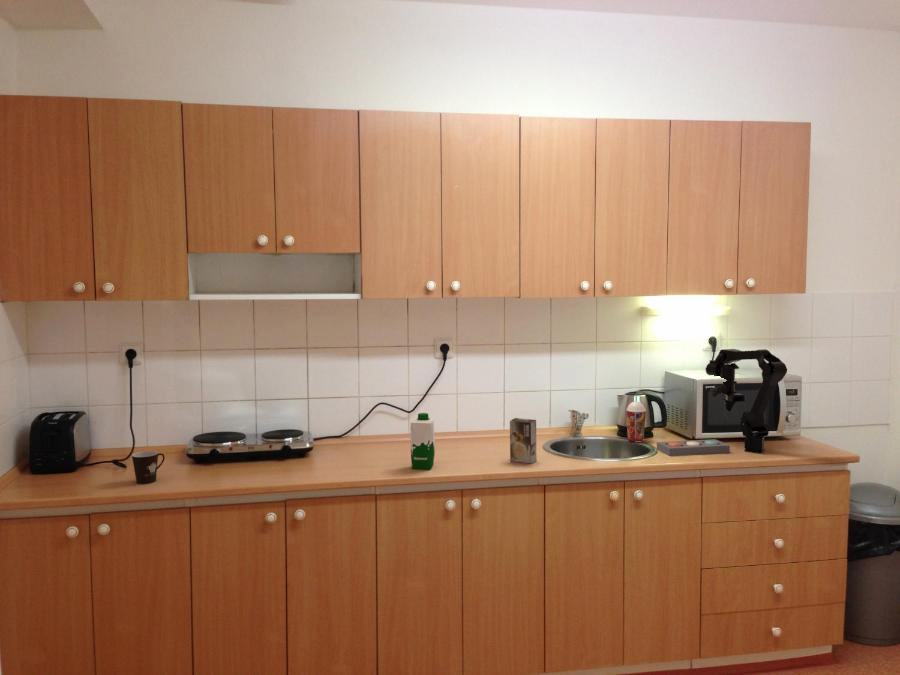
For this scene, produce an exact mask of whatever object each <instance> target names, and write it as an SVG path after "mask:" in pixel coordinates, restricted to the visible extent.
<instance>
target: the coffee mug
mask: <svg viewBox="0 0 900 675" xmlns="http://www.w3.org/2000/svg"><path fill="white" fill-rule="evenodd" d="M159 456H162V459H161V462H160V463H159V465H158V462H159V459H158V458H159ZM131 458H132V463H133V464H132V465H133V470H134V475H135V480H136V481H135V482H136V484H138V485H149V484H153V483H155V482H157V472H158V469H159V468H160V467H161V466H162V465H163V463H164V461H165V459H166V458H165V455H164V453H159V452H158V451H155V450H143V451H139V452H135V453H134V452H133V453H132V454H131Z"/></svg>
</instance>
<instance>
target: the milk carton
mask: <svg viewBox="0 0 900 675" xmlns="http://www.w3.org/2000/svg"><path fill="white" fill-rule="evenodd" d="M409 428H410V459H411V460H410V461H411V462H410V463H411V470H419V471H420V470H421V471H422V470H423V471H425V470H426V471H430V470H431V469H432V468H433V467H434V463H435V461H434V460H435V451H436V450H435V449H436V448H435V438H436V437H435V419H434V418H429V413H428V412H420V413H417V418H416V417H415V418H413V419H412V420H411V422H410V427H409Z"/></svg>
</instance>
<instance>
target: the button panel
mask: <svg viewBox="0 0 900 675" xmlns="http://www.w3.org/2000/svg"><path fill="white" fill-rule="evenodd" d="M690 441H693V442H698V443H699V445H696V446H689V445H687V444H686V442H690ZM705 441H716V442H718V444H716V445H707V444H705ZM670 442H676V443H680V444H681V446H676V447H671V446H669V445H668V443H670ZM730 447H731V445H729V444H728V443H725V442H723V441H720V440H718V439H715V438H714V439H712V438H711V439H697V440H695V439H693V440H675V441H657V442H656V450H657V451H659V452H662V453H663V454H665V455H667V456H669V457H675V456H677V457H678V456H690V455H691V456H693V455H696V456H697V455H712V453H716V454H728V453H729V454H730V452H731V451H730V450H731V448H730Z"/></svg>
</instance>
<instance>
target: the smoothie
mask: <svg viewBox="0 0 900 675" xmlns="http://www.w3.org/2000/svg"><path fill="white" fill-rule="evenodd" d="M625 410H626V411H625V412H626V428H627V433H626V434H627V438H628V441H629V440H630V441H629V442H631V441H642V440H644V438H645V429H646V416H647V409H646V408H645V406H644V404H643V403H642V402H640V401H639V400H638V395H637V394H635V400H634V401H632V402H630V403H629V404H628V406H627V407H626V409H625ZM642 442H643V441H642Z"/></svg>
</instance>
